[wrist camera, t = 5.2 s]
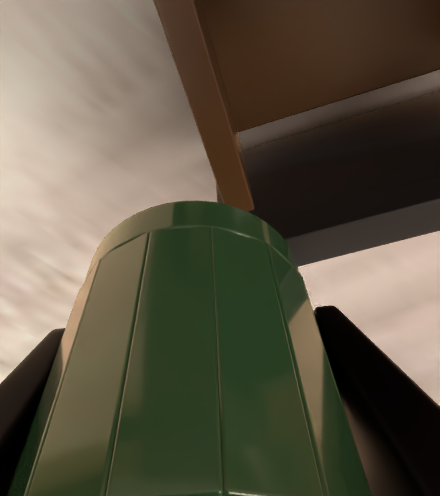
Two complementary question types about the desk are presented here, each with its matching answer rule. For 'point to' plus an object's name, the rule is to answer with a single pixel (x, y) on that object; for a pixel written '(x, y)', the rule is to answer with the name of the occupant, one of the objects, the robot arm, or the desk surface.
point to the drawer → (309, 97)
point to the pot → (191, 371)
